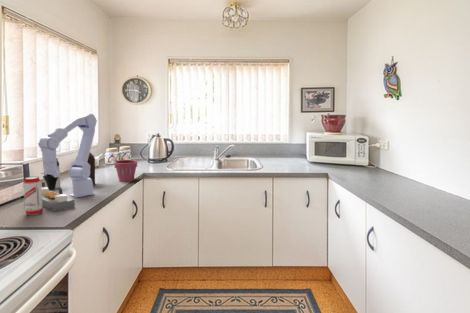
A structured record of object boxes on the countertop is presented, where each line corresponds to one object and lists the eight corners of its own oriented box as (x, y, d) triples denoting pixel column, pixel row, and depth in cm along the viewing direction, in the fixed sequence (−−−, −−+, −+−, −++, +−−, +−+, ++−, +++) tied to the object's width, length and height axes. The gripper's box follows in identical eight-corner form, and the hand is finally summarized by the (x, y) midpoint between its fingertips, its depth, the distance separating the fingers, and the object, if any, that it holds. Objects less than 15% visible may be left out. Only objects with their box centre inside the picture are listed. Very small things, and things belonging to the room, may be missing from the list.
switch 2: (58, 196, 146) (57, 194, 146) (60, 196, 144) (59, 194, 144) (50, 198, 143) (49, 195, 143) (52, 198, 141) (51, 195, 141)
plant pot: (130, 183, 192) (130, 163, 191) (110, 182, 195) (109, 162, 193) (141, 178, 206) (141, 160, 205) (122, 177, 209) (121, 159, 207)
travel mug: (55, 189, 173) (53, 158, 171) (41, 189, 173) (39, 158, 171) (63, 186, 181) (61, 156, 178) (50, 186, 181) (48, 156, 179)
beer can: (32, 211, 135) (29, 176, 133) (46, 211, 135) (43, 176, 133) (22, 215, 129) (19, 179, 127) (36, 216, 129) (33, 179, 126)
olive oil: (100, 183, 190) (98, 144, 186) (86, 187, 180) (84, 145, 176) (87, 182, 193) (85, 143, 190) (73, 185, 183) (70, 144, 180)
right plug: (64, 199, 142) (63, 186, 141) (67, 200, 140) (66, 188, 139) (54, 200, 139) (54, 188, 138) (58, 202, 137) (57, 189, 136)
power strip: (51, 197, 158) (51, 190, 157) (74, 207, 142) (74, 199, 141) (32, 200, 151) (31, 194, 150) (53, 211, 135) (53, 204, 134)
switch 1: (52, 194, 150) (51, 191, 150) (54, 193, 148) (53, 191, 148) (44, 195, 147) (43, 193, 147) (46, 195, 146) (45, 192, 146)
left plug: (46, 191, 154) (46, 180, 154) (49, 193, 152) (49, 181, 151) (38, 193, 151) (37, 181, 150) (40, 194, 149) (40, 183, 148)
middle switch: (55, 195, 148) (54, 192, 148) (57, 195, 146) (56, 192, 146) (47, 196, 145) (46, 194, 145) (48, 196, 143) (48, 194, 143)
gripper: (34, 161, 145) (36, 189, 146) (46, 164, 136) (48, 194, 138) (50, 159, 150) (52, 186, 152) (63, 163, 141) (65, 191, 143)
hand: (51, 189), depth 145 cm, fingers closed
